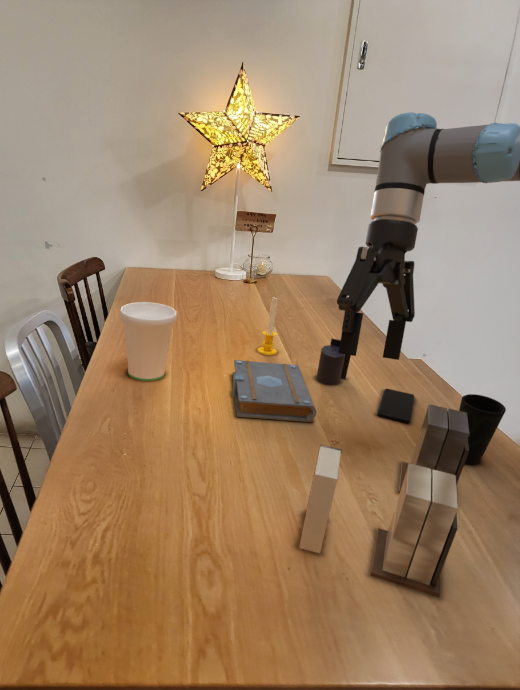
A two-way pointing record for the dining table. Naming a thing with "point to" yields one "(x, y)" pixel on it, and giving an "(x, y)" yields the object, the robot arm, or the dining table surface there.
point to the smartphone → (396, 405)
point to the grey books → (441, 442)
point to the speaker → (332, 364)
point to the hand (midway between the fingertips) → (370, 357)
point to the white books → (418, 531)
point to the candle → (270, 331)
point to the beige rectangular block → (320, 498)
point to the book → (271, 392)
